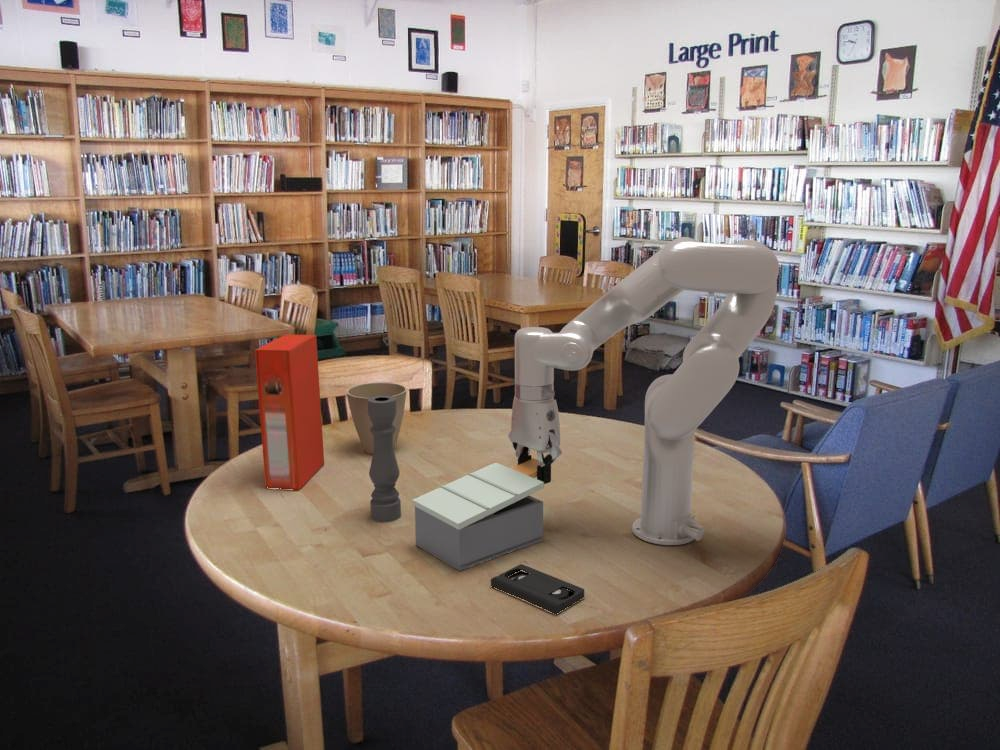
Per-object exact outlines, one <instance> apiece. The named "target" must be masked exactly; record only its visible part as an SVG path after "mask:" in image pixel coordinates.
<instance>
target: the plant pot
mask: <svg viewBox="0 0 1000 750" xmlns="http://www.w3.org/2000/svg"><path fill="white" fill-rule="evenodd" d="M346 396H347V400H348V401H347V402H348V406H349V410H350V415H351V418H352V421H353V425H354V428H355V430H356V433H357V435H358V438H359V440H360V443H361V445H362V448H363V450H364V451H365V452H366V453H367V454H369V455H373V451H374V436H373V434H372V433H371V432H370V428H371V427H372V426H373V424H372V421H371V420H370V417H369V416H368V399H369V398H371V397H374V396H393V397H395V398H396V409H397V414H396V415H395V419H394V421H393V423H392V425H394V426H395V427H396V431H395V432H394V434H393V449H395V447H396V444H397V441H398V439H399V435H400V433H401V432H400V431H401V427H402V423H403V418H404V412H405V407H406V401H407V400H406V398H407V386H405V385H403V384H400V383H394V382H367V383H366V382H365V383H362V384H357V385H354V386H351V387H349V388H347V390H346Z"/></svg>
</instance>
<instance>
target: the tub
mask: <svg viewBox="0 0 1000 750" xmlns="http://www.w3.org/2000/svg"><path fill="white" fill-rule="evenodd" d="M414 526H415V527H414V528H415V546H417V547H419V548H420V549H422V550H423V551H425V552H427V553H428V554H430V555H433V556H434V557H435V558H437V559H439V560H440V561H442V562H444V563H445V562H446V563H445V564H447V565H449V566H451V567H452V568H453V569H456V570H458V571H459V572H461V571H464V570H466V569H465V568H467V569H469V568H471V567H470V566H472V567H474V566H473V565H475V564H478V563H480V564H482V563H481V562H483V563H485V562H484V561H486V562H488V561H487V560H489V559H491V560H493V559H492V558H494V559H496V558H495V557H497V558H499V557H498V556H500V555H502V556H504V555H503V554H505V555H507V554H506V553H508V552H510V553H512V552H511V551H513V552H515V550H516V551H518V550H517V549H519V550H521V549H524V548H526V547H529V545H530V546H532V545H534V544H538V543H540V542H543V541H544V501H542V500H540V499H539V498H535V497H533V496H531V495H529V496H527V497H525V498H523V499H521V500H519V501H517V502H515V503H513V504H511V505H508V506H506V507H504V508H502V509H500V510H498V511H496V512H494V513H492V514H490V515H488V516H486V517H484V518H482V519H480V520H478V521H476V522H474V523H472V524H470V525H468V526H466V527H464V528H462V529H460V530H458V529H456V528H455V527H453V526H451V525H449V524H447V523H445V522H443V521H442V520H440V519H438V518H436V517H434V516H432V515H430V514H428V513H427V512H425V511H423V510H421V509H419V508H417V507H415V506H414ZM523 547H524V548H523ZM520 548H521V549H520ZM508 554H509V553H508ZM500 557H501V556H500ZM489 561H490V560H489ZM478 565H479V564H478ZM475 566H476V565H475ZM468 567H469V568H468ZM463 569H464V570H463ZM460 570H461V571H460Z"/></svg>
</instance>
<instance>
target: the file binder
mask: <svg viewBox="0 0 1000 750" xmlns="http://www.w3.org/2000/svg"><path fill="white" fill-rule="evenodd" d="M254 357H255V360H254V361H255V370H256V371H255V372H256V383H257V396H258V397H257V398H258V406H259V407H258V408H259V409H258V410H259V422H260V433H261V445H262V446H261V447H262V458H263V471H264V482H265V489H267V487H268V488H279V489H280V488H281V489H293V490H297V491H298V490H299V491H300V490H301V489H302V487H304V486H305V485H306V484H307V482H308V481H309V480H310V479H311V478H312V477H314V475H315V474H317V472H318V471H319V470H320V469H321V468H322V467H323V466H324V465H325V456H324V455H325V454H324V440H323V424H322V409H321V406H322V405H321V404H322V403H321V391H320V388H321V387H320V375H319V373H320V371H319V360H318V359H319V358H318V357H319V356H318V342H317V335H316V334H283V335H282V336H280V337H278V338H276V339H274V340H272V341H270V342H268V343H266V344H264V345H262V346H260V347H259V348H255V350H254Z"/></svg>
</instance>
